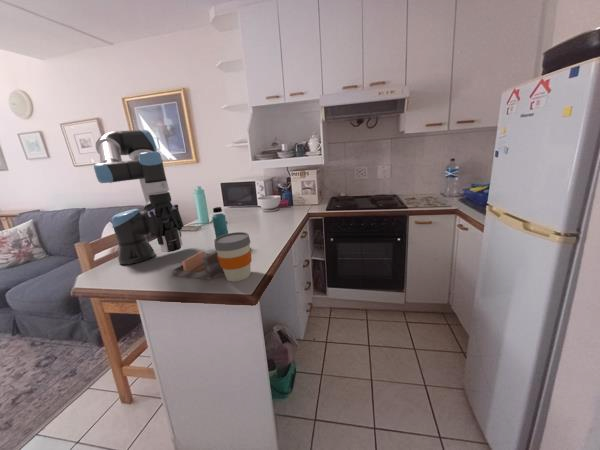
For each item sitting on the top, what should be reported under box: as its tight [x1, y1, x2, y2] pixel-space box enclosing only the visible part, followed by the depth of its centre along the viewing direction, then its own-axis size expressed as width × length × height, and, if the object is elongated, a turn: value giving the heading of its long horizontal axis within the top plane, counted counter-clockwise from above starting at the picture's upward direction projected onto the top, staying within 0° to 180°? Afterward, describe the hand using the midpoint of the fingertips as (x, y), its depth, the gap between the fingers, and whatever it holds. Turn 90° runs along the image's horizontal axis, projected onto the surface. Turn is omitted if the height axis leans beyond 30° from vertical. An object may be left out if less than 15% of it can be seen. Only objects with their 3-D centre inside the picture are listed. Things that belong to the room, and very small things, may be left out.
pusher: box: [181, 250, 206, 272], centre depth 107 cm, size 1×11×5 cm, turn 160°
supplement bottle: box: [163, 220, 182, 253], centre depth 108 cm, size 7×7×12 cm
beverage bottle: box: [211, 206, 229, 239], centre depth 130 cm, size 6×7×20 cm
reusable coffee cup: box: [214, 231, 252, 282], centre depth 96 cm, size 13×13×15 cm
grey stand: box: [171, 249, 224, 281], centre depth 105 cm, size 19×14×9 cm
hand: (172, 248), depth 109 cm, fingers closed on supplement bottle, 7 cm apart
